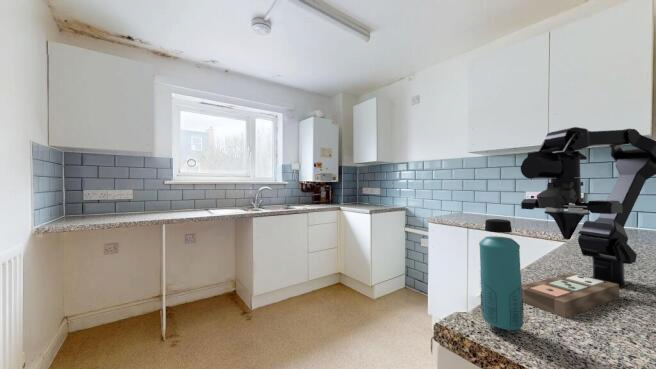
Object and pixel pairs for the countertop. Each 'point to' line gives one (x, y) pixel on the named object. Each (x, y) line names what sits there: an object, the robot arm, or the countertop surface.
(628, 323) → the countertop surface
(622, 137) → the robot arm
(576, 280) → the two dot button
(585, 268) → the countertop surface
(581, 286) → the three dot button
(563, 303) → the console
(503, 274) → the beverage bottle
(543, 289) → the one dot button
